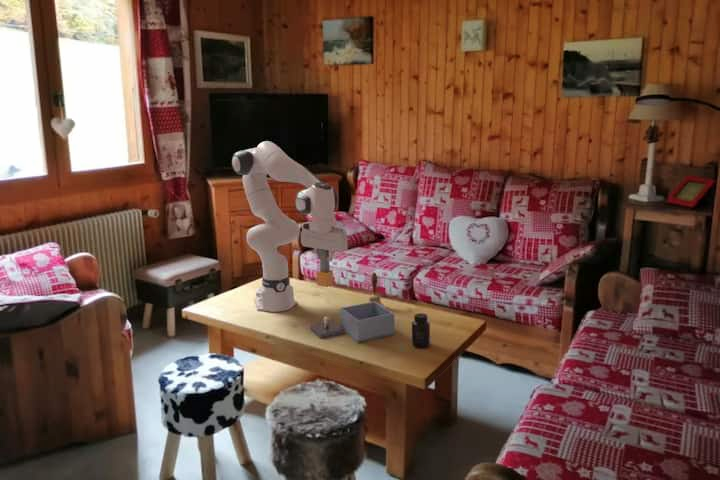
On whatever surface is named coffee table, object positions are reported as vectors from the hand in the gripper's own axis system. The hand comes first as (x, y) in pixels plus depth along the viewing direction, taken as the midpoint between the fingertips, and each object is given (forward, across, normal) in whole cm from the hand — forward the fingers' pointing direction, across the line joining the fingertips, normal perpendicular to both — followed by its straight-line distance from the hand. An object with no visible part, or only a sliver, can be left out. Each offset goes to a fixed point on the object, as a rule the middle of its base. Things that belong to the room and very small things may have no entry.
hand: (324, 260), depth 229 cm
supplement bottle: (+30, -38, -8) cm, 49 cm away
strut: (+10, 0, 0) cm, 10 cm away
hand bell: (+30, -2, -34) cm, 45 cm away
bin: (+30, -14, -8) cm, 34 cm away
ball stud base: (+30, 0, 0) cm, 30 cm away
